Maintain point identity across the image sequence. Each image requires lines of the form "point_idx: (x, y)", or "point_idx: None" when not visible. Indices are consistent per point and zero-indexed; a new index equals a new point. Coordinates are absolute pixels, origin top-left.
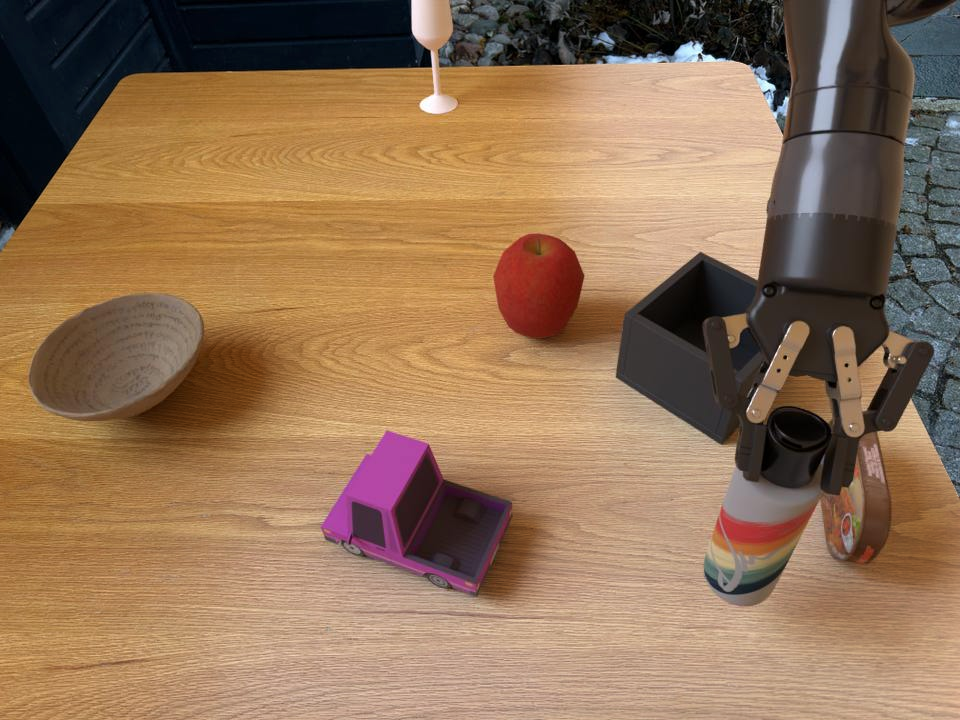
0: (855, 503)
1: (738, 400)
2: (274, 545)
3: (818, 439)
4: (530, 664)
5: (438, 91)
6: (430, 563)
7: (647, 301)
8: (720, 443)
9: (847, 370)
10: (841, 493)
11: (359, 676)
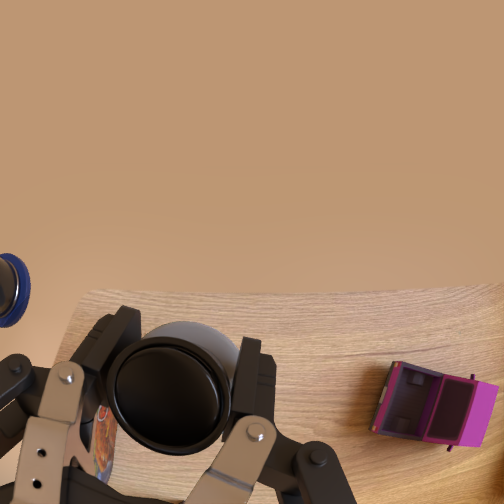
0: None
1: (288, 462)
2: (487, 378)
3: (138, 359)
4: (352, 321)
5: None
6: (429, 372)
7: None
8: (184, 501)
9: (38, 473)
10: (99, 440)
11: (441, 306)
